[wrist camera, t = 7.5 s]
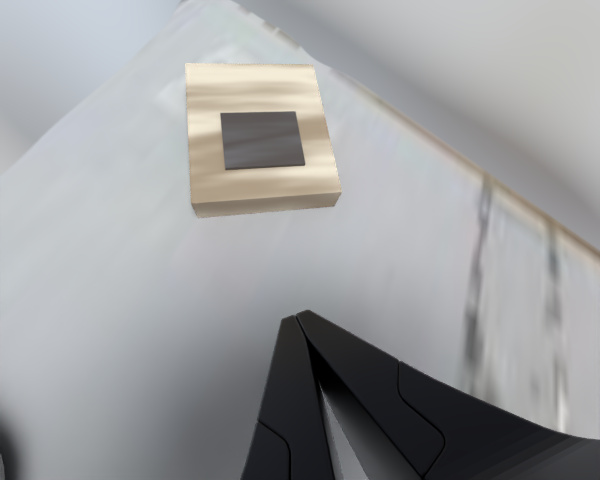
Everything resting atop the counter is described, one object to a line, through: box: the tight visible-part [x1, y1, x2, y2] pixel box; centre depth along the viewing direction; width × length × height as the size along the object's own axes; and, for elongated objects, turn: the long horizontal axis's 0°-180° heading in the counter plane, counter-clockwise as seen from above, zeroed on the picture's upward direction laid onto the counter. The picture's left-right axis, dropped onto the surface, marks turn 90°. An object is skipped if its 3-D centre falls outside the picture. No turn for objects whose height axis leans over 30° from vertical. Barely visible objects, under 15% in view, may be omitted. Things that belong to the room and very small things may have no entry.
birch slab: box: [185, 63, 342, 218], centre depth 24 cm, size 3×11×13 cm
